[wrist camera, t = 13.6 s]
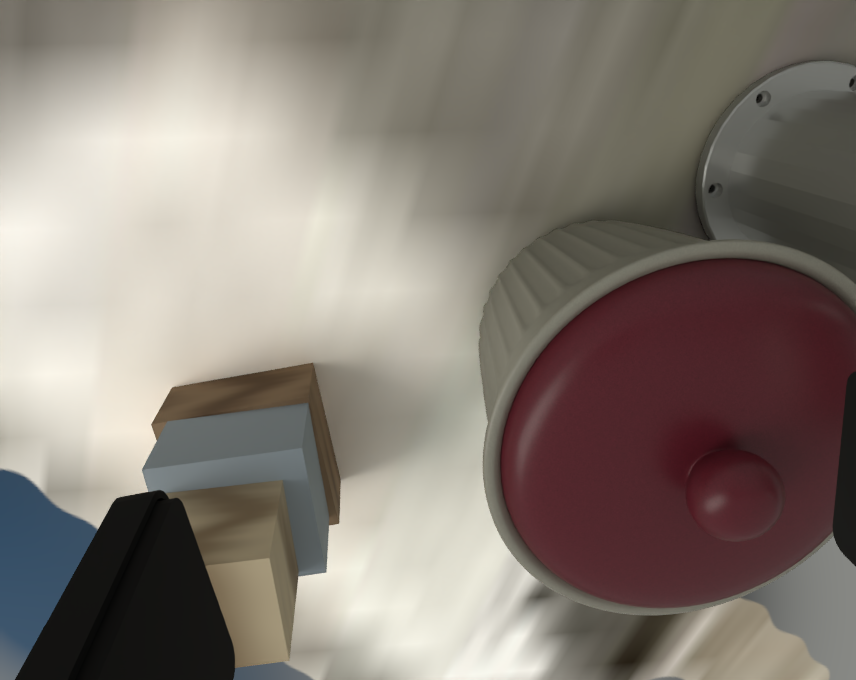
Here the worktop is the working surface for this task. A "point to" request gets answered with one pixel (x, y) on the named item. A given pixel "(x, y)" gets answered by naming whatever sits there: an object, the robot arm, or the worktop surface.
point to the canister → (663, 413)
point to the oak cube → (248, 564)
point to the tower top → (250, 466)
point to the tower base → (260, 394)
